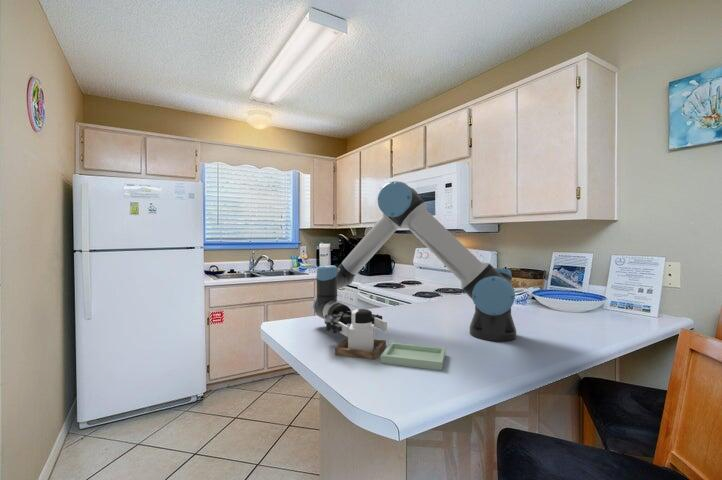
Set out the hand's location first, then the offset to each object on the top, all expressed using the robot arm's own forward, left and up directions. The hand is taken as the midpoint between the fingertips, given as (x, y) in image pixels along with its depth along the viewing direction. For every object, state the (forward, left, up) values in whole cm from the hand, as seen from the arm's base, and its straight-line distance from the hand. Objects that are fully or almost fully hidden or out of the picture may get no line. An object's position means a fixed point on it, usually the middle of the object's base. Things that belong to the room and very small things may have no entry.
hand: (367, 329), depth 99 cm
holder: (+3, -3, -7) cm, 8 cm away
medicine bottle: (+3, -3, -7) cm, 8 cm away
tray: (-13, -1, -7) cm, 15 cm away
